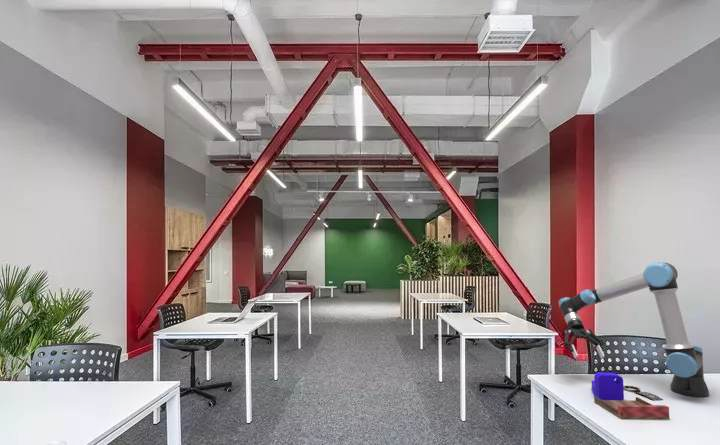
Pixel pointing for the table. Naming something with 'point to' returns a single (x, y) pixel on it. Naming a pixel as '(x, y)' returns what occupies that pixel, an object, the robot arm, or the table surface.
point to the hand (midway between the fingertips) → (589, 357)
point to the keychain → (637, 391)
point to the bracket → (608, 386)
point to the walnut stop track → (627, 402)
